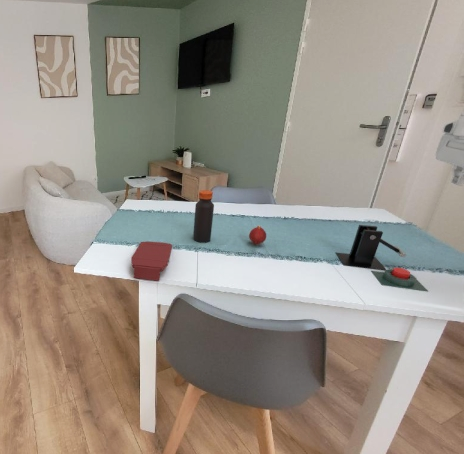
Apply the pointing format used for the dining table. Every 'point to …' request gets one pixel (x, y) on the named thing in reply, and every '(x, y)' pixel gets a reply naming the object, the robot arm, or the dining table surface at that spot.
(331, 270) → the dining table surface
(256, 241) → the onion
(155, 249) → the red lidded container
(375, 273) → the button panel
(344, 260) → the switch bracket
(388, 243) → the switch lever
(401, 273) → the button
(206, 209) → the vinegar
